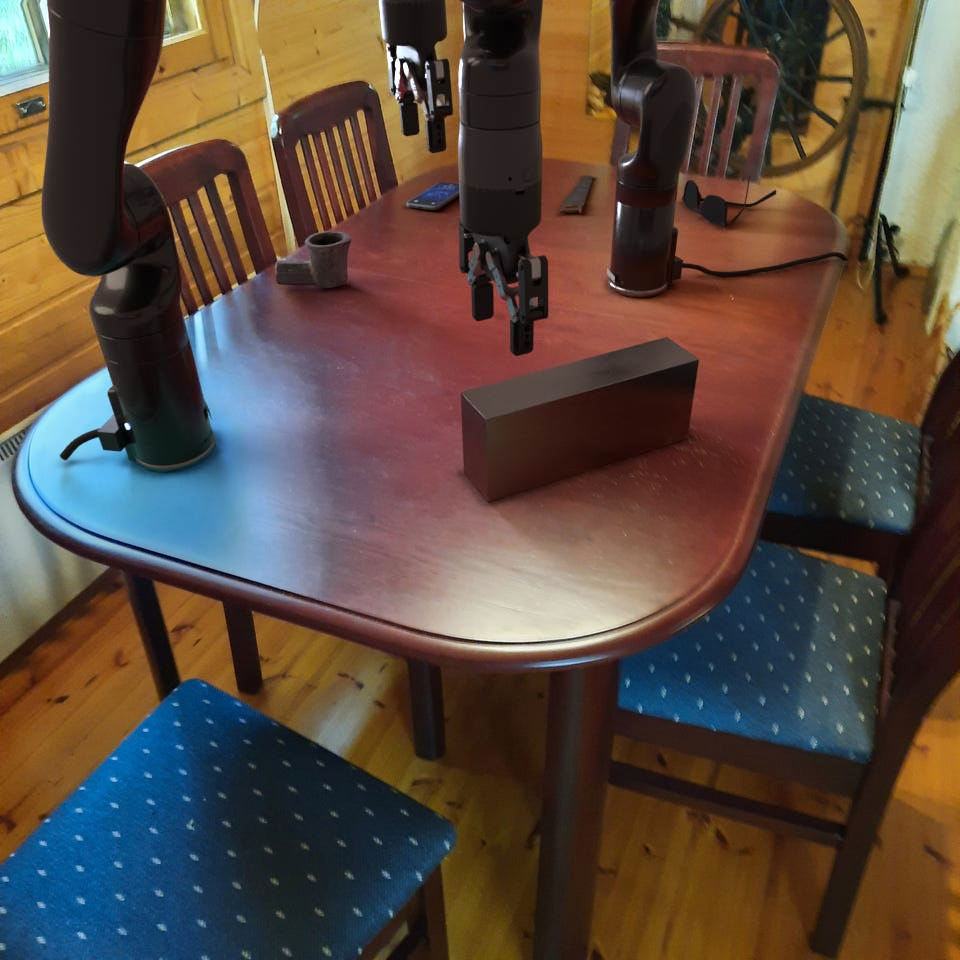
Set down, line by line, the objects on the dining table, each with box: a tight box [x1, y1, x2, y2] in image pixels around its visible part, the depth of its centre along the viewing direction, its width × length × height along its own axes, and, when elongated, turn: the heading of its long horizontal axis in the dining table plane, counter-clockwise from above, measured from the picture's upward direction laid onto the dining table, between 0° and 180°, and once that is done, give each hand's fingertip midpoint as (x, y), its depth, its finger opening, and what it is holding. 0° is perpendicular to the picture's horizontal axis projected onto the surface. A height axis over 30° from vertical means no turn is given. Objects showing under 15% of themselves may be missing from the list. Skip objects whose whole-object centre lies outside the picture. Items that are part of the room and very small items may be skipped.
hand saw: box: [558, 175, 594, 215], centre depth 174 cm, size 24×5×1 cm, turn 168°
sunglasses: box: [681, 175, 777, 228], centre depth 163 cm, size 17×14×5 cm
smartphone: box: [406, 181, 460, 211], centre depth 174 cm, size 7×1×15 cm
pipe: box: [274, 230, 352, 289], centre depth 138 cm, size 6×13×8 cm, turn 95°
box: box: [460, 336, 700, 503], centre depth 97 cm, size 27×6×11 cm, turn 116°
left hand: (501, 335), depth 87 cm, fingers open, 8 cm apart
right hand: (423, 143), depth 106 cm, fingers open, 8 cm apart
